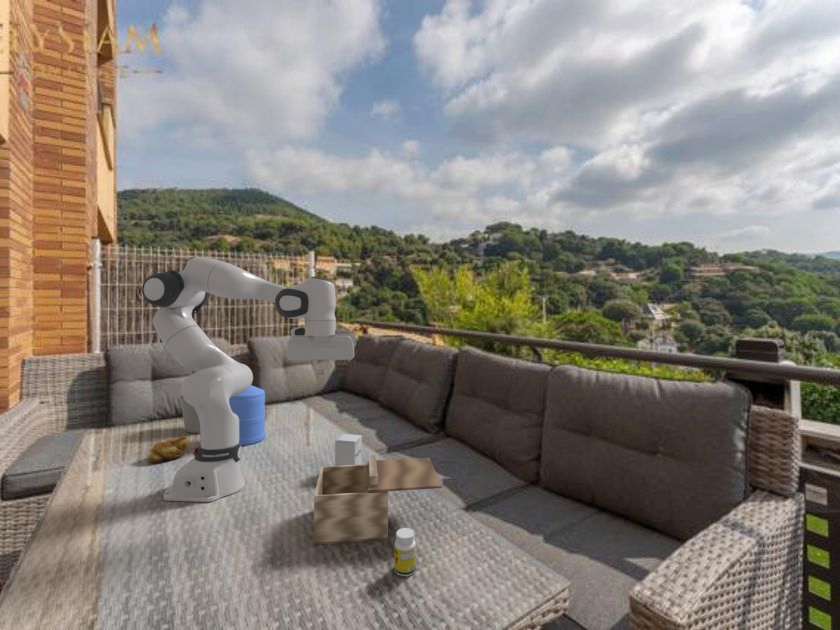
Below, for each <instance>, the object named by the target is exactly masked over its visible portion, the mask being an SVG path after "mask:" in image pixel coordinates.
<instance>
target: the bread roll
mask: <svg viewBox="0 0 840 630" xmlns="http://www.w3.org/2000/svg"><path fill="white" fill-rule="evenodd" d="M188 441H189V440H188V438H187V436H180V437H177V438H171V439H167V440H166V441H160V442H157V443H155V444H154V446H152V449H151V453H150V454H148V457H147V460H148V462H149V463H152V464H156V463H157V464H158V463H163V462H165V461H172V460H173V461H174V460H177V459H179V458H182V457H183V456H184V455H185V453H186V450H187V449H188V448H189V447H188V446H189V443H188Z"/></svg>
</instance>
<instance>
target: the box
mask: <svg viewBox="0 0 840 630" xmlns="http://www.w3.org/2000/svg"><path fill="white" fill-rule="evenodd" d="M386 539H387V540H388V539H389V491H386V492H370V493H368V481H367V463H366V464H362V465H345V466H335V465H330V466H329V465H327V466H321V467H320V472H319V475H318V479H317V483H316V487H315V491H314V494H313V546H320V545H319V544H324V545H332V544H333V545H334V544H348V543H359V542H361V543H362V542H373V541H383V540H384V541H386Z"/></svg>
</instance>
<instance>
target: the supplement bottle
mask: <svg viewBox="0 0 840 630" xmlns="http://www.w3.org/2000/svg"><path fill="white" fill-rule="evenodd" d="M416 544H417V543H416V540H415V532H414V530H413V529H411V528H409V527H402V528H399V529H398V530H397V531H396V533H395V541H394V563H393V564H394V565H393V566H394V572H395V574H396V573H397V574H396V575H397V576H399V575H401V576H400V577H403V576H406V577H410V576H412V575H413V573H414V574H415V572H416V570H417V569H416V567H417V566H416V565H417V561H416V560H417V551H416V550H417V545H416ZM409 575H410V576H409Z"/></svg>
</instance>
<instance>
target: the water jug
mask: <svg viewBox="0 0 840 630" xmlns="http://www.w3.org/2000/svg"><path fill="white" fill-rule="evenodd" d="M265 393H266V391H265V390H264V389H262V388H259V387H257V386H255V385H252V384H251V386H250V387H249V388H248V389H246V390H245V391H244V392H242V393H241V394H239V395H237V396H234V397H231V398H229V404H230V408H231V410H232V412H233V413H235V414H236V415H237V416H238V417H239V440H240V441H241V447H242V446H243V447H244V446H249V445H255V444H257V443H259V442H262V441H263V440H264V439H265V437H266V425H265V424H266V423H265V422H266V409H265V406H266V405H265V404H266V394H265Z"/></svg>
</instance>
